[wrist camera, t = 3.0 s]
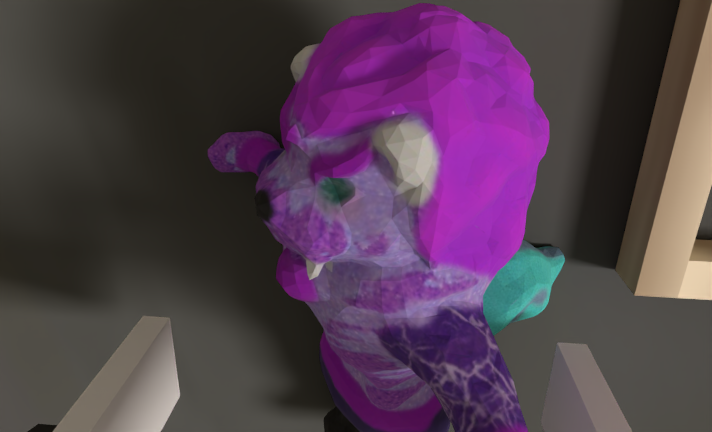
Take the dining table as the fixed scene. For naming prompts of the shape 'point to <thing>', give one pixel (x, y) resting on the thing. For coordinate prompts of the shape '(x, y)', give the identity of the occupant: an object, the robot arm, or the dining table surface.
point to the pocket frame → (675, 172)
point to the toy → (407, 215)
